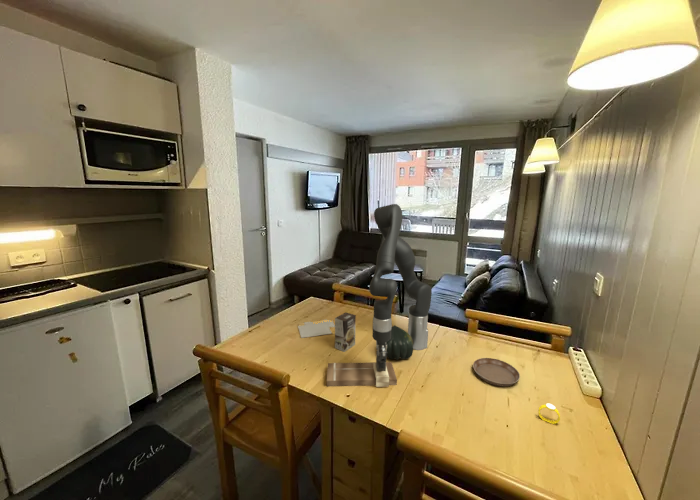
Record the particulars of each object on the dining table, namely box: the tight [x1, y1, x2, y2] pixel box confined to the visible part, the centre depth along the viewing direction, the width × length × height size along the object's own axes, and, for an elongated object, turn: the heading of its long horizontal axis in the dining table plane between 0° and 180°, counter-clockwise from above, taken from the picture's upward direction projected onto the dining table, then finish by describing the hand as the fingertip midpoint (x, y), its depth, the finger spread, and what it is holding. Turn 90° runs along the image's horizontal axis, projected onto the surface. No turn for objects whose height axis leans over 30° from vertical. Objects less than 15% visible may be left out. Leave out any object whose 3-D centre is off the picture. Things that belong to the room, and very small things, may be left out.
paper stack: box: [297, 320, 335, 339], centre depth 167 cm, size 23×25×1 cm
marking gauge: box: [374, 350, 390, 388], centre depth 118 cm, size 5×10×11 cm, turn 2°
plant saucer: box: [472, 357, 521, 387], centre depth 122 cm, size 18×18×3 cm
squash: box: [386, 325, 414, 361], centre depth 136 cm, size 14×15×15 cm
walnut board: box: [326, 361, 398, 387], centre depth 121 cm, size 28×12×3 cm, turn 92°
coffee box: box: [334, 312, 357, 353], centre depth 143 cm, size 9×6×16 cm
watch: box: [537, 403, 561, 425], centre depth 98 cm, size 6×3×6 cm, turn 56°
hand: (380, 365), depth 118 cm, fingers closed on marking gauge, 3 cm apart
